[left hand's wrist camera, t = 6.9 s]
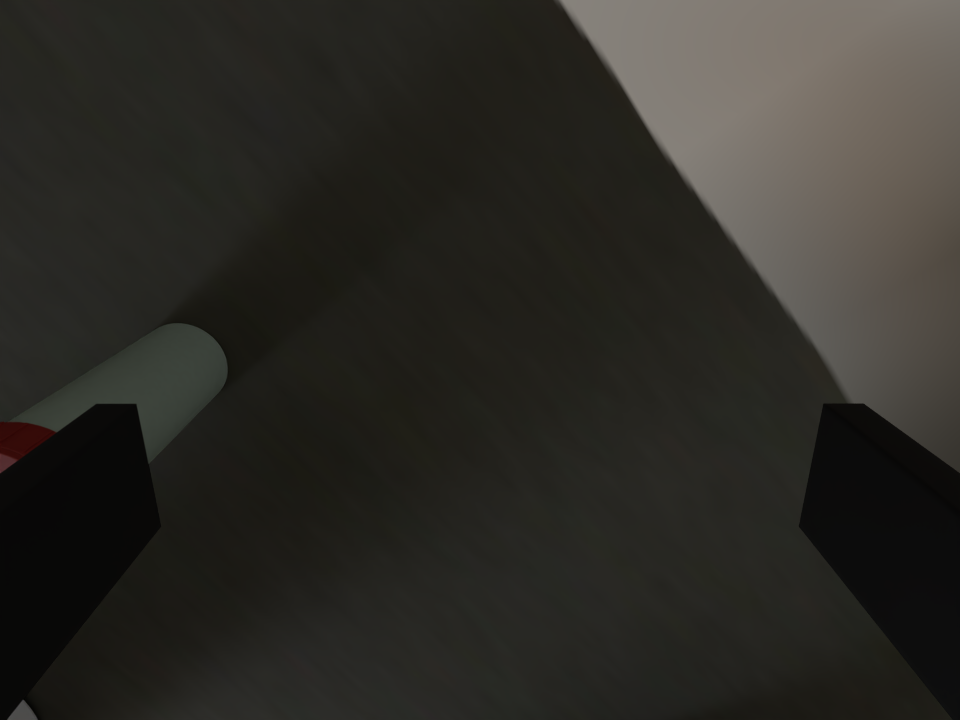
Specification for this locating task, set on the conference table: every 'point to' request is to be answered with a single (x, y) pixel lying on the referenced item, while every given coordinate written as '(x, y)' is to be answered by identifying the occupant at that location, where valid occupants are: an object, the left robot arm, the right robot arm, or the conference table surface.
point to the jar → (145, 384)
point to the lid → (19, 441)
